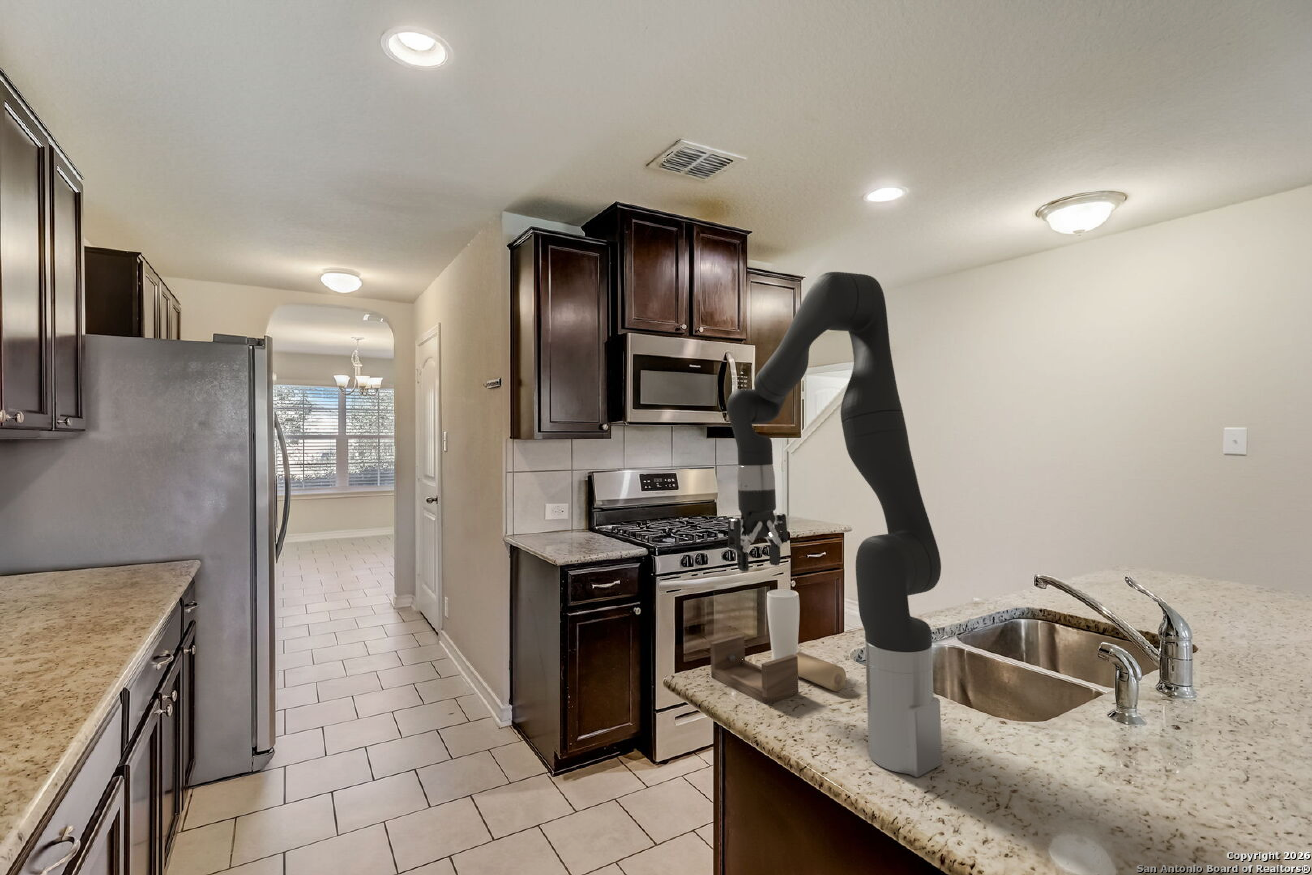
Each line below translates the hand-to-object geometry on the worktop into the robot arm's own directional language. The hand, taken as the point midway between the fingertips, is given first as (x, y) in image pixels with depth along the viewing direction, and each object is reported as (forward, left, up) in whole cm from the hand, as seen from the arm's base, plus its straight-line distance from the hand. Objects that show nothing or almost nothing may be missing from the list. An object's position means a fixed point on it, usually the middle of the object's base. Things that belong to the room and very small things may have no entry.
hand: (759, 567), depth 124 cm
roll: (-9, -7, -22) cm, 25 cm away
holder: (-2, +4, -22) cm, 22 cm away
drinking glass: (+2, -9, -22) cm, 24 cm away
